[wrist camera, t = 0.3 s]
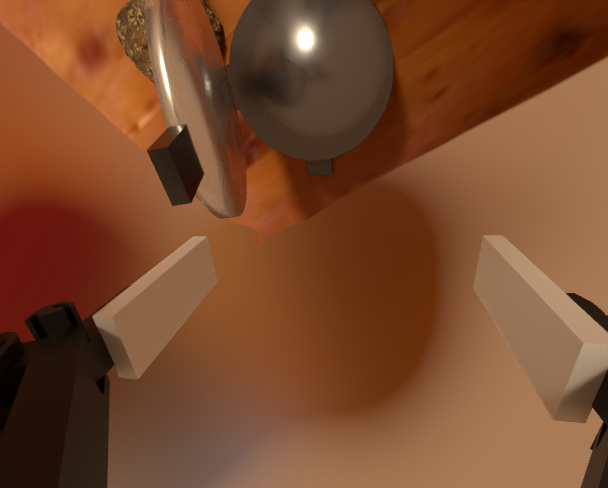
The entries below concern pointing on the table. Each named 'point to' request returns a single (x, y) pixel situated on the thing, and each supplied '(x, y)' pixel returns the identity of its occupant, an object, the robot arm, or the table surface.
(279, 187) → the table surface
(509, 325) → the robot arm
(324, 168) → the cooker pot
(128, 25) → the speckled stone
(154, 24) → the lid
